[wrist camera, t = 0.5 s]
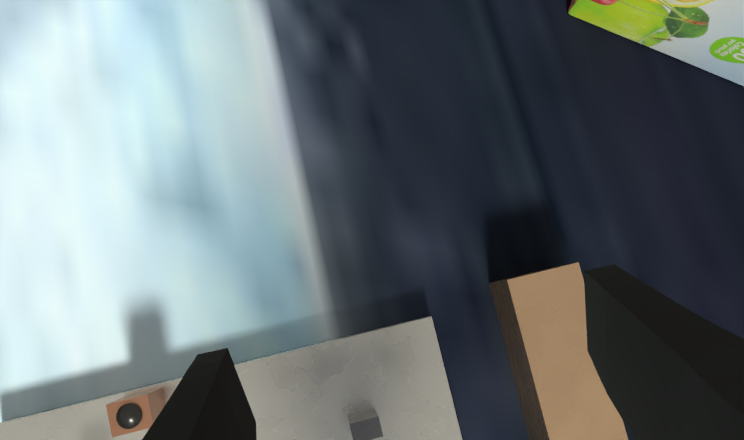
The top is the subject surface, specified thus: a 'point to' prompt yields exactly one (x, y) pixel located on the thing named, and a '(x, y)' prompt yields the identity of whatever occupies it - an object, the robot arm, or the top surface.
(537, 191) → the top surface
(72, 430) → the firebox plate
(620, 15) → the snack box
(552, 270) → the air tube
